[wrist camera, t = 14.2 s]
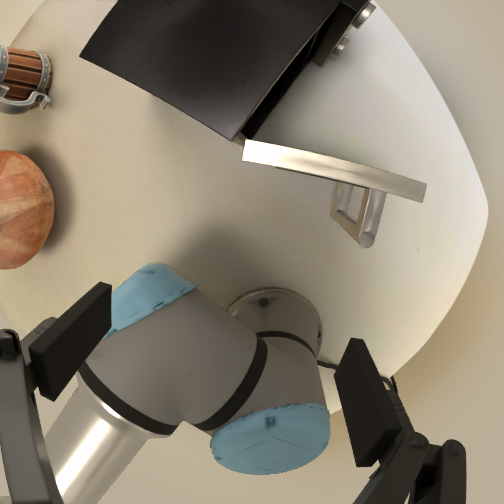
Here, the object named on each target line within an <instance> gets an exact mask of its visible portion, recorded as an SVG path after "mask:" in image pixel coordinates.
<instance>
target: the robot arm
mask: <svg viewBox="0 0 504 504" xmlns="http://www.w3.org/2000/svg"><path fill="white" fill-rule="evenodd" d="M196 286H197V285H196V284H195V283H190V282H189V281H187V280H186V279H185V278H183V277H182V276H181V275H179V274H178V273H177V272H175V271H174V270H173V269H171V268H170V267H169V266H167V265H165V264H162V263H151V264H148V265H146V266H144V267H142V268H141V269H139V270H138V271H136V272H135V273H134V274H133V275H132V276H130V277H129V278H128V279H127V280H126V281H124V282H123V283H122V284H121V285H120V286H119V287H118V288H117V289H116V290H115V291H113V292H112V285H110V284H106V283H103V282H99V283H98V284H97V285H95V286H94V287H93V288H92V289H91V290H90V291H88V292H87V293H86V294H85V295H84V296H83V297H82V298H80V299H79V300H78V301H77V302H76V303H75V304H74V305H72V306H71V307H70V308H69V309H68V310H67V311H66V312H65V313H64V314H62V315H61V316H60V317H59V318H58V319H57V318H55V317H50V318H48V319H46V320H44V321H42V322H41V323H40V324H39V325H38V326H37V327H36V328H35V329H33V331H31V332H30V333H29V334H28V335H27V336H26V337H25V338H24V339H22V340H21V341H20V340H19V336H18V333H16V332H15V331H14V330H11V329H2V330H0V446H1V452H2V459H3V464H4V470H5V475H6V480H7V484H8V488H9V492H10V496H3V497H0V504H97V503H98V501H99V500H100V499H101V498H102V496H103V495H104V494H105V493H106V491H107V490H108V489H109V488H110V487H111V485H112V484H113V483H114V482H115V480H116V479H117V478H118V477H119V475H120V474H121V472H123V470H124V469H125V468H126V466H127V465H128V464H129V463H130V461H131V460H132V459H133V458H134V456H135V455H136V454H137V453H138V451H139V450H140V449H141V447H142V446H143V445H144V444H145V442H146V441H147V440H148V439H149V438H165V437H169V436H170V435H171V434H172V433H173V432H174V431H175V429H176V428H177V427H178V426H179V424H180V423H181V422H182V421H186V422H188V423H190V424H192V425H194V426H195V427H197V428H198V429H200V430H202V431H204V432H206V433H207V434H209V435H211V436H212V439H211V442H210V448H211V449H212V454H213V455H214V458H215V460H216V461H217V462H218V463H219V464H221V465H222V466H224V467H226V468H228V469H230V470H232V471H235V472H239V473H244V474H253V475H269V474H277V473H283V472H287V471H291V470H294V469H297V468H299V467H302V466H304V465H306V464H308V463H309V462H311V461H313V460H314V459H316V458H317V457H318V456H319V455H320V454H321V453H322V452H323V451H324V450H325V448H326V447H327V445H328V441H329V438H330V421H329V419H330V413H329V410H327V406H326V401H325V397H324V392H323V387H322V383H321V378H320V374H319V369H318V365H319V366H322V367H326V368H332V369H335V370H336V372H335V374H334V379H335V383H336V386H337V390H338V394H339V398H340V402H341V405H342V409H343V413H344V417H345V421H346V425H347V429H348V433H349V437H350V441H351V445H352V450H353V454H354V458H355V463H356V466H357V467H372V466H373V464H374V463H375V462H376V461H377V460H379V463H380V466H379V468H378V469H377V470H376V471H375V472H374V473H373V474H372V475H371V476H370V477H369V479H370V480H369V482H368V483H367V485H366V486H365V487H364V489H363V490H362V492H361V493H360V494H359V496H358V497H357V499H356V500H355V502H354V503H353V504H404V502H405V500H406V498H407V497H408V494H409V493H410V496H409V500H408V504H466V451H465V448H464V446H463V445H462V444H461V443H460V442H459V441H456V440H452V439H450V440H447V441H446V442H445V443H444V444H443V445H442V446H439V445H433V444H429V441H428V440H427V438H426V437H425V436H424V435H422V434H421V433H418V432H415V431H414V429H413V426H412V424H411V422H410V420H409V417H408V416H407V413H406V412H405V409H404V407H403V406H402V405H403V404H402V402H401V400H400V398H399V396H398V390H397V385H396V382H395V379H394V377H393V375H392V376H391V377H390V378H391V381H392V384H393V385H392V384H391V382H390V381H389V380H388V379H387V378H384V377H380V374H379V372H378V370H377V368H376V366H375V364H374V361H373V359H372V357H371V355H370V353H369V351H368V349H367V346H366V344H365V342H364V340H363V339H357V338H350V341H349V343H348V345H347V348H346V350H345V352H344V354H343V357H342V359H341V361H340V363H339V365H338V366H337V365H334V364H329V363H325V362H322V361H319V360H317V357H318V353H319V350H320V346H321V342H322V326H321V322H320V319H319V316H318V314H317V312H316V310H315V308H314V307H313V306H312V305H311V303H310V302H309V301H307V300H306V299H305V298H304V297H302V296H301V295H299V294H297V293H295V292H292V291H289V290H286V289H281V288H262V289H257V290H254V291H251V292H249V293H246V294H244V295H243V296H241V297H239V298H238V299H237V300H236V301H234V302H233V303H232V304H231V305H230V307H229V308H228V309H227V311H225V310H224V309H223V308H221V307H220V306H219V305H217V304H216V303H215V302H214V301H212V300H211V299H210V298H208V297H207V296H206V295H205V294H203V293H202V292H201V291H200V290H198V289H197V288H196ZM75 373H76V376H77V380H78V387H77V389H76V390H75V392H74V393H73V395H72V396H71V398H70V399H69V401H68V402H67V404H66V405H65V407H64V408H63V410H62V411H61V413H60V414H59V416H58V417H57V419H56V420H55V422H54V423H53V425H52V427H51V428H50V430H49V431H48V433H47V434H46V436H45V437H44V438H43V433H42V429H41V424H40V420H39V415H38V410H37V404H36V399H35V394H34V390H35V389H36V388H37V387H38V388H39V391H40V394H41V396H43V397H45V398H47V399H49V400H51V401H53V402H54V401H55V400H56V399H57V397H58V396H59V395H60V393H61V392H62V390H63V389H64V388H65V387H66V385H67V384H68V382H69V381H70V380H71V379H72V377H73V376H74V375H75ZM383 381H384V382H385V383H387V385H388V386H389V388H390V390H386V388H385V386H384V383H383Z"/></svg>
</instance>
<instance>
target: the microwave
mask: <svg viewBox="0 0 504 504" xmlns="http://www.w3.org/2000/svg"><path fill="white" fill-rule="evenodd" d="M370 1H371V0H118V1H117V3H116V4H115V5H114V7H113V8H112V9H111V10H110V12H109V13H108V14H107V16H106V17H105V18H104V20H103V21H102V22H101V24H100V25H99V27H98V28H97V29H96V31H95V32H94V34H93V35H92V37H91V38H90V40H89V41H88V43H87V44H86V46H85V47H84V49H83V50H82V52H81V54H80V55H79V57H81V58H83V59H85V60H87V61H89V62H91V63H93V64H95V65H97V66H99V67H101V68H103V69H105V70H107V71H109V72H111V73H113V74H115V75H117V76H119V77H121V78H123V79H125V80H127V81H129V82H131V83H132V84H134V85H136V86H138V87H140V88H142V89H144V90H145V91H147V92H149V93H151V94H153V95H154V96H156V97H158V98H160V99H162V100H163V101H165V102H167V103H169V104H170V105H172V106H174V107H175V108H177V109H179V110H181V111H182V112H184V113H186V114H187V115H189V116H191V117H192V118H194V119H196V120H197V121H199V122H201V123H202V124H204V125H206V126H207V127H209V128H210V129H212V130H214V131H215V132H217V133H218V134H220V135H222V136H223V137H225V138H226V139H228V140H229V141H231V142H234V143H236V144H238V145H240V146H242V147H244V145H245V140H246V139H249V140H253V138H254V137H255V135H256V134H257V133H258V131H259V130H260V128H261V127H262V126H263V124H264V123H265V121H266V120H267V119H268V117H269V116H270V115H271V113H272V112H273V110H274V109H275V108H276V106H277V105H278V104H279V102H280V101H281V100H282V98H283V97H284V96H285V94H286V93H287V92H288V90H289V89H290V88H291V86H292V85H293V84H294V82H295V81H296V80H297V78H298V77H299V76H300V75H301V73H302V72H303V71H304V69H305V68H306V67H307V66H308V64H309V63H310V62H311V60H312V61H313V62H314V63H316V64H317V65H319V66H320V67H322V66H323V65H324V63H325V62H326V61H327V60H328V58H329V57H330V56H332V57H333V58H335V59H336V58H337V56H338V55H339V54H340V53H341V51H342V50H343V49H344V48H345V46H346V45H347V44H348V42H349V41H350V40H348V39H347V38H345V36H346V35H347V33H348V32H349V30H350V29H351V28H352V26H354V27H355V28H356V29H359V28H360V27H361V25H362V24H363V23H364V22H365V20H366V19H367V18H368V17H369V16H370V14H371V13H372V12H373V11H374V9H375V8H376V6H374V5H373V4H371V3H370Z"/></svg>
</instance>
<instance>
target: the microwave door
mask: <svg viewBox="0 0 504 504" xmlns="http://www.w3.org/2000/svg"><path fill="white" fill-rule="evenodd" d="M242 160H243V161H248V162H254V163H259V164H265V165H270V166H274V167H275V168H277V169H283V170H288V171H292V172H297V173H302V174H307V175H311V176H316V177H320V178H325V179H329V180H333V181H338V183H337V188H336V192H335V197H334V201H333V206H332V210H331V217H332V219H333V220H334V221H335V222H336V223H337V224H339V225H340V226H341V227H342V228H343V229H344V230H345V231H346V232H347V233H348V234H349V235H350V236H351V237H352V238H353V239H354V240H355V241H356V242H357V243H358V244H359V245H360V246H361V247H362V248H369V247H371V246H372V245H373V244H374V241H375V237H376V233H377V229H378V226H379V222H380V218H381V214H382V210H383V206H384V202H385V197H386V193H390V194H393V195H397V196H400V197H404V198H407V199H410V200H414V201H417V202H420V203H423V199H424V195H425V191H426V186H427V184H425V183H422V182H419V181H416V180H413V179H410V178H407V177H404V176H400V175H397V174H394V173H391V172H387V171H384V170H381V169H377V168H374V167H370V166H366V165H363V164H359V163H355V162H352V161H348V160H344V159H340V158H336V157H332V156H328V155H323V154H319V153H315V152H310V151H306V150H301V149H297V148H292V147H287V146H282V145H277V144H272V143H266V142H261V141H255V140H249V139H246V140H245V145H244V151H243V156H242ZM353 185H354V186H358V187H362V188H365V189H364V194H363V198H362V202H361V207H360V211H359V215H358V219H357V221H356V220H355V219H354V218H352V217H351V216H350V215H348V214H347V211H348V206H349V202H350V198H351V193H352V189H353Z"/></svg>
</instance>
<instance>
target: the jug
mask: <svg viewBox="0 0 504 504" xmlns="http://www.w3.org/2000/svg"><path fill="white" fill-rule="evenodd" d="M54 211H55V205H54V196H53V192H52V190H51V187H50V185H49V183H48V181H47V179H46V177H45V176H44V174H43V172H42V171H41V169H40V168H39V167H38V166H37V165H36V164H35V163H34V162H33V161H32V160H31V159H30V158H29V157H28V156H25V155H23V154H20V153H17V152H14V151H9V150H5V151H0V269H14V268H17V267H20V266H22V265H23V264H25V263H27V262H28V261H29V260H31V259H32V258H33V257H34V256H35V255H36V254H37V253H38V252H39V251H40V249H41V248H42V246H43V245H44V243H45V241H46V239H47V236H48V234H49V232H50V229H51V227H52V224H53V220H54Z"/></svg>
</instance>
